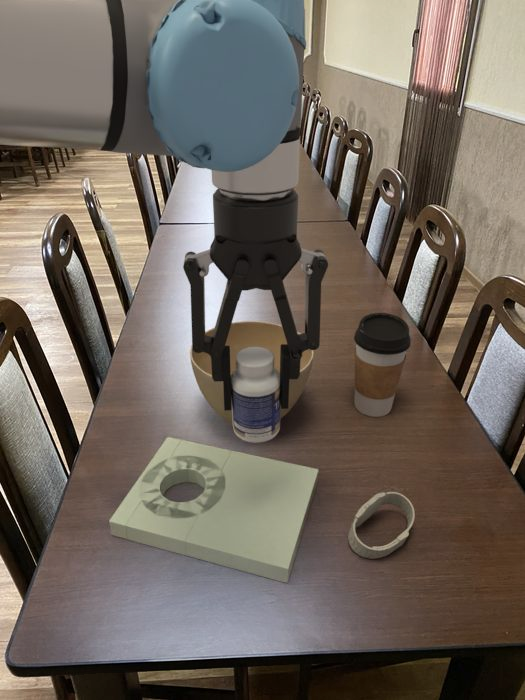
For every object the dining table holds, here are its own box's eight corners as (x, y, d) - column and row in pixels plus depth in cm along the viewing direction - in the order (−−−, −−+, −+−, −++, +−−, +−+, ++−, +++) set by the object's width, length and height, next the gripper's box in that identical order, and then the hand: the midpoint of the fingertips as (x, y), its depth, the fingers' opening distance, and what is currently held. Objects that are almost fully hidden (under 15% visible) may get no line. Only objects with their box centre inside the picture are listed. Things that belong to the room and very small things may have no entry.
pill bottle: (285, 440, 59) (286, 367, 54) (237, 447, 58) (233, 373, 53) (274, 410, 64) (274, 340, 59) (229, 417, 63) (225, 346, 58)
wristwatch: (383, 502, 70) (388, 473, 67) (424, 532, 66) (431, 503, 63) (335, 539, 65) (338, 510, 62) (376, 574, 60) (382, 544, 58)
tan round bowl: (312, 454, 77) (317, 385, 71) (187, 451, 78) (181, 382, 71) (306, 382, 93) (310, 320, 86) (202, 381, 93) (198, 319, 87)
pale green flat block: (111, 535, 65) (108, 521, 64) (168, 449, 78) (167, 436, 77) (287, 583, 59) (288, 569, 58) (317, 482, 73) (318, 469, 71)
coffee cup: (398, 393, 90) (411, 314, 82) (400, 425, 83) (415, 341, 75) (347, 388, 91) (356, 309, 84) (345, 418, 84) (354, 336, 77)
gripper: (351, 177, 51) (333, 380, 63) (154, 178, 50) (174, 384, 62) (369, 199, 44) (345, 421, 56) (143, 201, 43) (168, 426, 55)
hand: (255, 401), depth 59 cm, fingers closed on pill bottle, 5 cm apart
